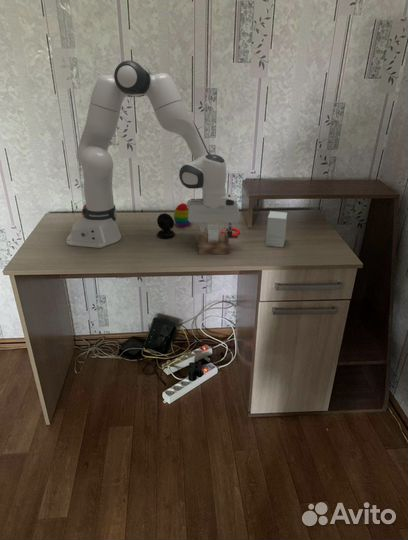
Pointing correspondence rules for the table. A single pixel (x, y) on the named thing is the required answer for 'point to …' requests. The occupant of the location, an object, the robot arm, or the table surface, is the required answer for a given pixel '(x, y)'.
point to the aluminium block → (213, 233)
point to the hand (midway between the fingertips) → (213, 231)
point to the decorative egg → (181, 215)
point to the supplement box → (276, 229)
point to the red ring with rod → (231, 231)
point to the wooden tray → (214, 245)
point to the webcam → (165, 226)
